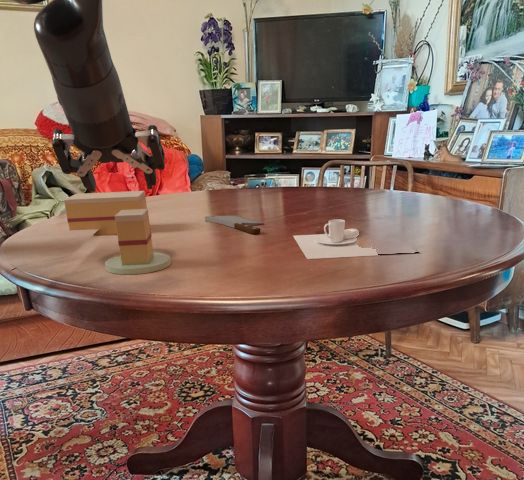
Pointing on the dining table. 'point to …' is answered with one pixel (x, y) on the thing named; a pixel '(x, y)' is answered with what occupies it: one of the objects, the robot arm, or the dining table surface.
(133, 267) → the plate
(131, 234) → the cake slice
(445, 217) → the dining table surface
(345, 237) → the teacup and saucer
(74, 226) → the cake
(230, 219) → the kitchen cleaver
